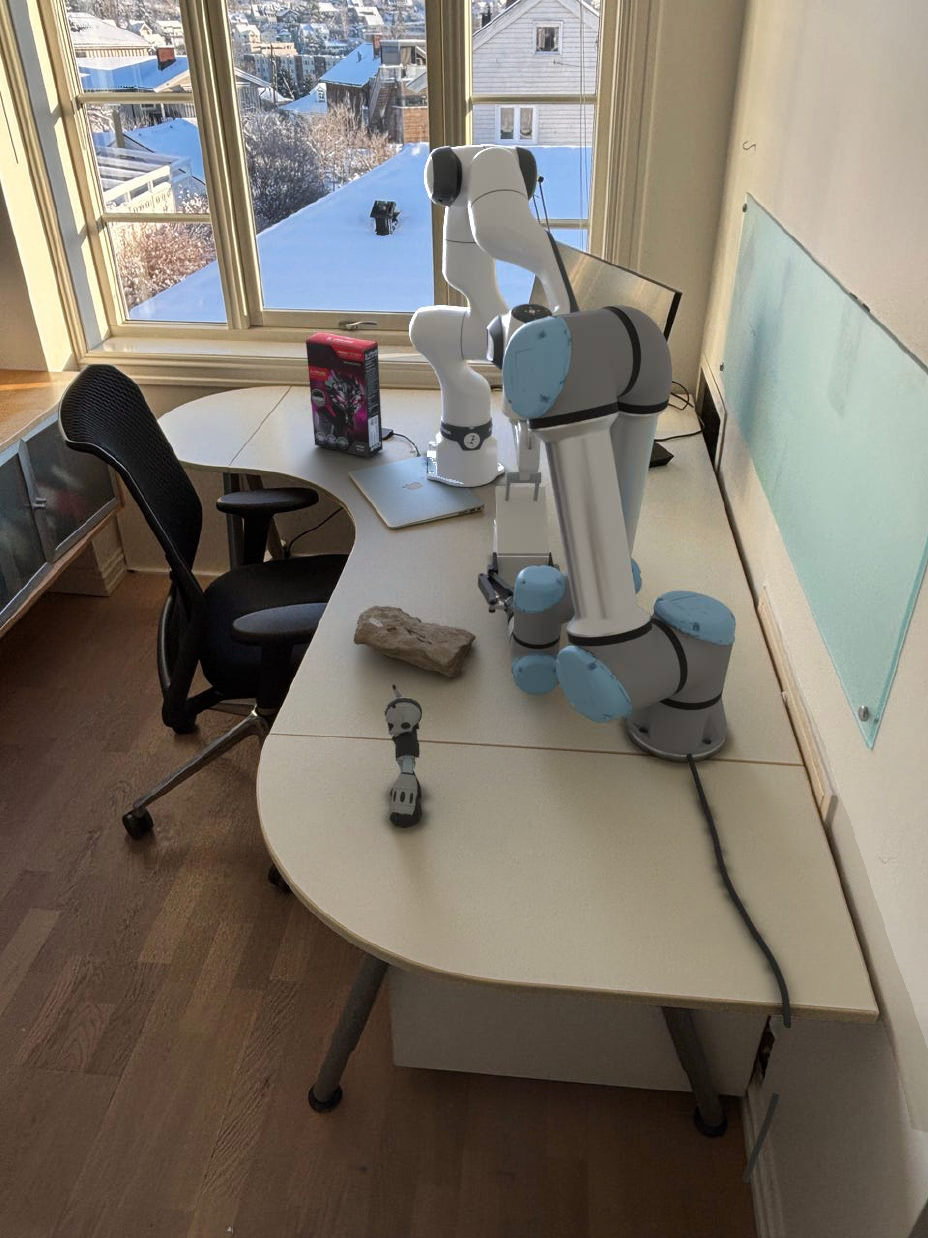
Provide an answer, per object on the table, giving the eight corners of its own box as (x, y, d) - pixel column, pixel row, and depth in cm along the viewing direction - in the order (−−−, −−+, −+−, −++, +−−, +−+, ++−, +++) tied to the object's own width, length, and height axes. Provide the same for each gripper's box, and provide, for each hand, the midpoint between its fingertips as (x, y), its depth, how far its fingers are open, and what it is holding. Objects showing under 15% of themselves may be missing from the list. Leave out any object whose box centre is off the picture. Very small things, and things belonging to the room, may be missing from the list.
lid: (495, 489, 178) (497, 460, 170) (544, 489, 178) (549, 460, 171) (497, 556, 170) (499, 528, 163) (549, 556, 170) (553, 529, 163)
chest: (493, 557, 187) (494, 519, 182) (539, 557, 187) (542, 519, 183) (496, 596, 175) (497, 556, 170) (546, 596, 175) (549, 557, 170)
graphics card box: (312, 446, 233) (302, 338, 217) (328, 436, 238) (320, 330, 223) (369, 459, 226) (363, 349, 211) (384, 449, 231) (380, 341, 216)
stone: (330, 651, 154) (336, 619, 151) (363, 622, 167) (369, 592, 165) (447, 693, 150) (456, 661, 148) (471, 659, 164) (479, 629, 161)
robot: (425, 859, 121) (422, 744, 110) (387, 860, 121) (381, 745, 110) (423, 757, 137) (420, 648, 126) (390, 758, 137) (385, 649, 126)
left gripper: (550, 425, 153) (545, 500, 161) (540, 382, 170) (536, 452, 178) (512, 425, 153) (509, 500, 161) (506, 382, 170) (503, 452, 178)
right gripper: (597, 606, 154) (581, 540, 172) (464, 606, 153) (463, 541, 172) (594, 642, 158) (578, 575, 176) (464, 643, 157) (462, 575, 176)
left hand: (523, 474), depth 169 cm, fingers closed
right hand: (521, 558), depth 174 cm, fingers closed on chest, 9 cm apart
